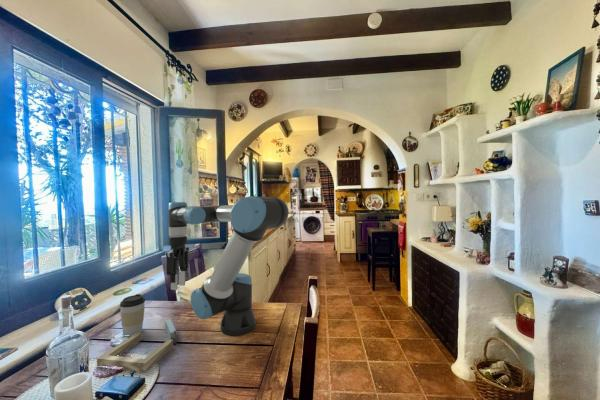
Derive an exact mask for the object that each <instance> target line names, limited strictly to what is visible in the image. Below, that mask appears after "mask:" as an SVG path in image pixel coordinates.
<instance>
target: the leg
mask: <svg viewBox="0 0 600 400" xmlns="http://www.w3.org/2000/svg"><path fill="white" fill-rule="evenodd" d="M164 330H165V333H166V335H167V337H168V339H171V340H172V331H176V332H177V330H176V328H175V326H174V323H173V321H172V320H171V319H165V320H164Z"/></svg>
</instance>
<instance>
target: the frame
mask: <svg viewBox="0 0 600 400" xmlns="http://www.w3.org/2000/svg"><path fill="white" fill-rule="evenodd" d="M142 336H143V335H142V332H141V333H139V332H137V333H135V334H134V335H132V336H128V338H126V339H125V340H123V341H121V342H120V343H119V344H117V345H116V346H114V347H112V348H110V349H109V350H108V351H106V352H105V353H103V354H101V355H100V356H98V357H97V358H96V367H97V366H117V367H123V368H124V369H125V370H124V371H126V370H135V371H138V373H146V372H148V371H149V370H150V369H151V368H152V367H153V366H154V365H155V364H156V363H158V362H159V361H160V360H161V359H162V358H163V357H164V356H165V355H167V354H168V353H169V352H170V351H171V350H172V349H173V348H174V346H173V340H171V339H169V338H168V339H167V340H166V341H164V342H163V343H162V344H161V345H159V346H158V347H157V348H155V349H154V350H153V351H152V352H151V353H150V354H149V355H147V356H146V357H145V358H138V357H128V356H121V355H122V353H123V354H125V353H126V352H127V351H129V350H130V349H131V348H133V347H134V346H136V345H137V344H139V343H140V342H141V341H142ZM120 354H121V355H120ZM117 355H120V356H117ZM148 369H149V370H148ZM135 371H134V372H135Z"/></svg>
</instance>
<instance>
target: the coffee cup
mask: <svg viewBox="0 0 600 400" xmlns="http://www.w3.org/2000/svg"><path fill="white" fill-rule="evenodd" d="M145 302H146V299H145V297H143V296H142V294H140V293H137V294H134V295H130V296H126V297H124V298H123V299H122V300H121V301H120V302H119V303H120V304H119V307H120V320H121V321H120V322H121V326H122V335H123V334H124V335H134V334H135V333H137V332H139V333H142V332H143V326H144V317H145Z"/></svg>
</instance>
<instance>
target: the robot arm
mask: <svg viewBox="0 0 600 400" xmlns="http://www.w3.org/2000/svg"><path fill="white" fill-rule="evenodd" d="M289 212H290V211H289V207H288V204H287V203H286V202H285V201H284V200H283V199H281V198H279V197H276V196H255V195H250V196H245V197H241V198H239V199H238V200H236V202H235V203H234V204H227V205H210V206H209V205H200V206H199V205H198V206H195V205H194V206H193V205H192V206H190V205H189V206H188V204H187V202H185V201H180V202H179V201H175V202H174V201H173V202H172V201H171V202H169V203H168V210H167V213H168V236H169V237H168V246H170V249H169V251H168V252H167V251H166V252H165V257H166V275H167V276H170V278H169V279H170V291H171V290H173V291H177V290H178V286H183V287H184V286H186V271H188V269H189V251H190V247H186V245H187V244H188V236H187V235H188V225H199V224H206V223H218V222H219V223H225V222H226V223H227V222H230V223H231V229H232V231H233V232H232V234H231V236H230V238H229V240H228V241H227V244H226V246H225V248H224V250H223V251H222V254H221V256H220V258H219V260H218V262H217V264H216V267H215V268H214V270H213V272H212V274H211V275H209V276H207V277H206V278H205V280H204V281H203V283H202V285H201V287H199V288H195V289H194V290H192V292H191V294H190V304H191V309H192V310H193V312H194V314H195V316H196V317H197V318H198V319H199V320H207V319H210V318H212V317H214V316H217V315H219V314H220V313H222V312H223V315H222V319H221V321H220V331H221V333H222V334H225V335H227V336H241V335H246V334H248V333H251V332H252V331H253V330H254V329H255V328H256V325H257V323H256V317H255V313H254V310H253V306H252V305H253V304H252V302H253V301H252V298H253V297H252V296H253V294H252V293H253V283H252V277H251V275H250V274H247V273H242V272H240V271H241V270H242V268H243V266H244V264H245V262H246V260H247V259H248V256H249V255H250V253H251V251H252V249H253V247H254V245H255V244H256V242H260V241H261V240H263V238H264V237H265V234H266V232H267V231H268V230H271V229H276V228H279V227H282V226H283V225H284V224H285V223H286V222H287V220H288V218H289V214H290V213H289ZM178 266H179V271H178ZM177 271H178V274H177Z"/></svg>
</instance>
